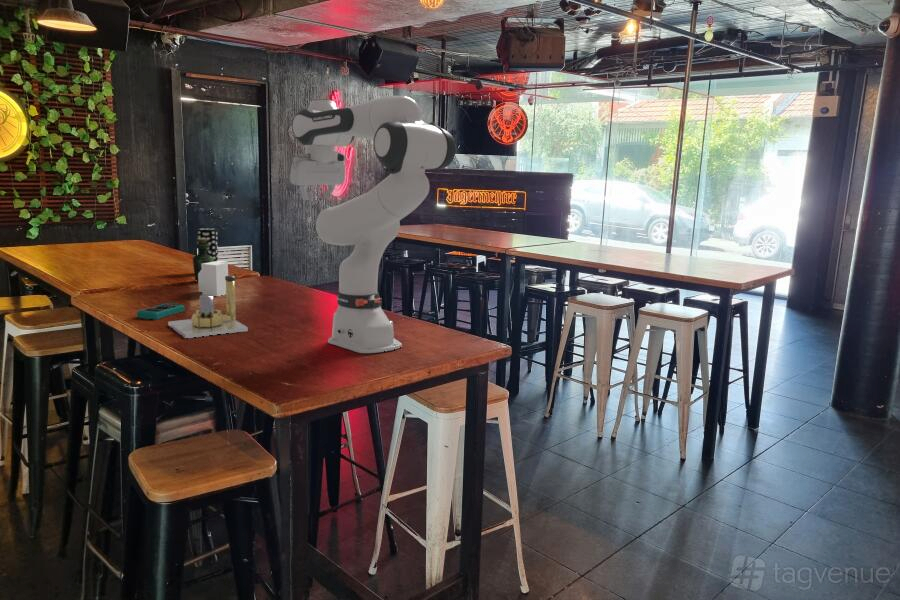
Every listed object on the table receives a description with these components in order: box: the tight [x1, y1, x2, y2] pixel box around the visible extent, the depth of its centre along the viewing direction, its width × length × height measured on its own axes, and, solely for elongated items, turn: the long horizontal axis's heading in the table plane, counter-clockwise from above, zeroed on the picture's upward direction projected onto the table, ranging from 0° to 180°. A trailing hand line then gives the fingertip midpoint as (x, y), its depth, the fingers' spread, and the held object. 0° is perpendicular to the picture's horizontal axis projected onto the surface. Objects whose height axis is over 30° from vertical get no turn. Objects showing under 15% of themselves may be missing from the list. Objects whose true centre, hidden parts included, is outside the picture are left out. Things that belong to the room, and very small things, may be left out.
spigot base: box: [167, 294, 249, 340], centre depth 195 cm, size 20×18×10 cm
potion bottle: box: [192, 238, 213, 281], centre depth 268 cm, size 8×8×18 cm
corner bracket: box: [197, 260, 229, 297], centre depth 246 cm, size 11×11×12 cm
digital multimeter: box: [136, 302, 185, 321], centre depth 210 cm, size 7×15×3 cm, turn 165°
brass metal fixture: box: [191, 275, 237, 327], centre depth 196 cm, size 14×8×14 cm, turn 146°
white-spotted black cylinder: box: [196, 227, 219, 262], centre depth 287 cm, size 8×8×20 cm
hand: (316, 199), depth 201 cm, fingers open, 8 cm apart
